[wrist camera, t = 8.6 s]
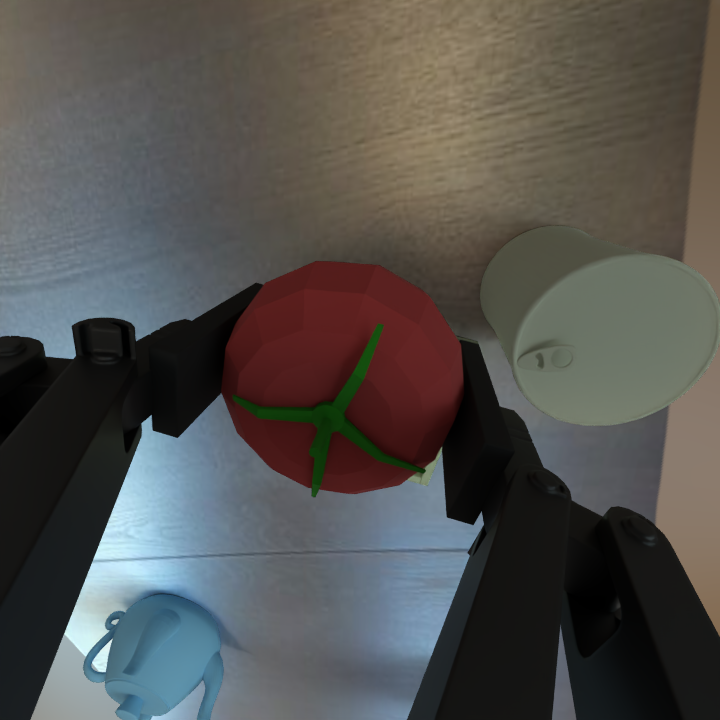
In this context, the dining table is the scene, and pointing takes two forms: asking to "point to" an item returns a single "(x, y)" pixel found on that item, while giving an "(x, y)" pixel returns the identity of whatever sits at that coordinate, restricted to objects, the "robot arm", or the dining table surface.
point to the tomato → (343, 377)
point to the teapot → (159, 657)
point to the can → (598, 325)
